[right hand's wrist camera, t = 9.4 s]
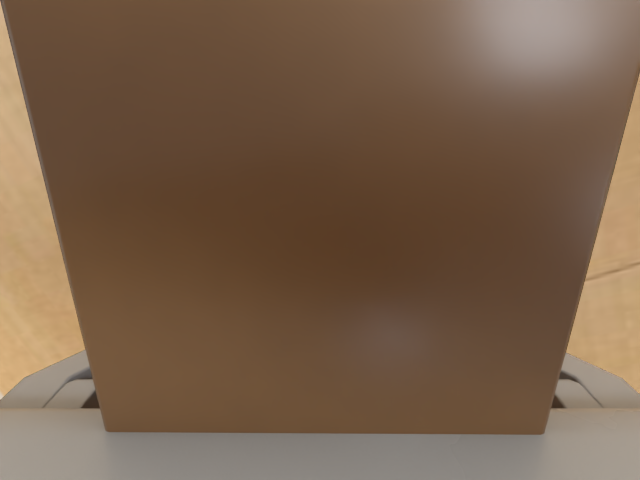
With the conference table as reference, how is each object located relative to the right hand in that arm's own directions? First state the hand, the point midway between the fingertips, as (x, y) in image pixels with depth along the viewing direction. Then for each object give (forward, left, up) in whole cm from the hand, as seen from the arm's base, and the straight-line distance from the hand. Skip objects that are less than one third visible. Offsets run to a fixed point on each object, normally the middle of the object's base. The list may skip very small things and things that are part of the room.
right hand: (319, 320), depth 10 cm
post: (+16, -18, -3) cm, 24 cm away
